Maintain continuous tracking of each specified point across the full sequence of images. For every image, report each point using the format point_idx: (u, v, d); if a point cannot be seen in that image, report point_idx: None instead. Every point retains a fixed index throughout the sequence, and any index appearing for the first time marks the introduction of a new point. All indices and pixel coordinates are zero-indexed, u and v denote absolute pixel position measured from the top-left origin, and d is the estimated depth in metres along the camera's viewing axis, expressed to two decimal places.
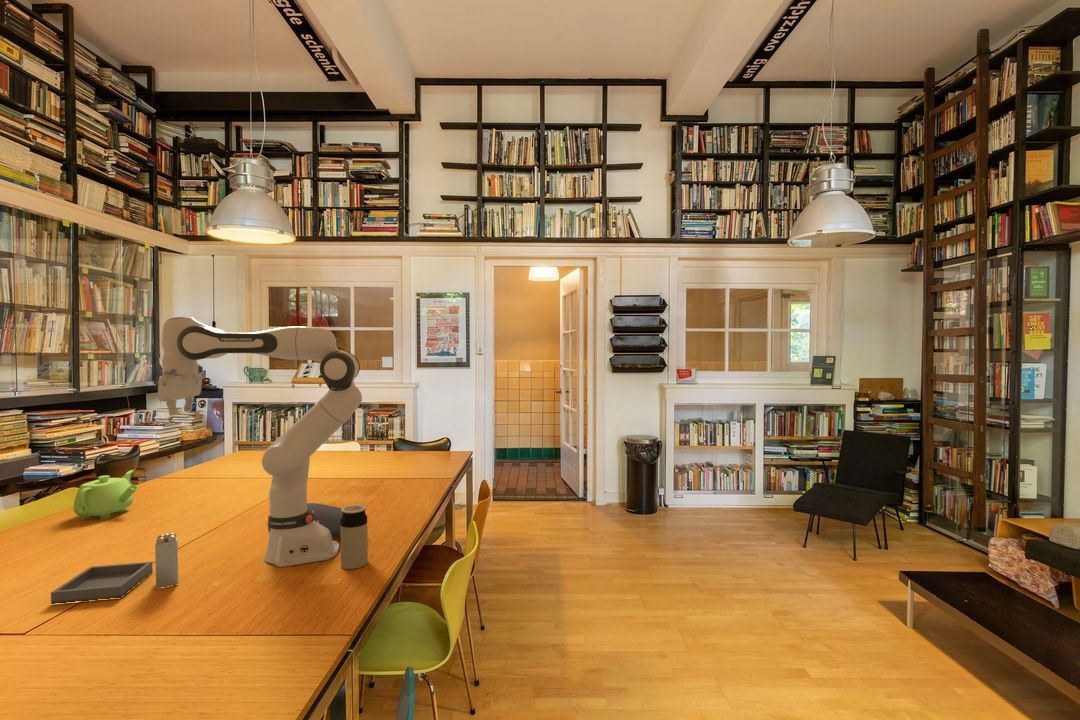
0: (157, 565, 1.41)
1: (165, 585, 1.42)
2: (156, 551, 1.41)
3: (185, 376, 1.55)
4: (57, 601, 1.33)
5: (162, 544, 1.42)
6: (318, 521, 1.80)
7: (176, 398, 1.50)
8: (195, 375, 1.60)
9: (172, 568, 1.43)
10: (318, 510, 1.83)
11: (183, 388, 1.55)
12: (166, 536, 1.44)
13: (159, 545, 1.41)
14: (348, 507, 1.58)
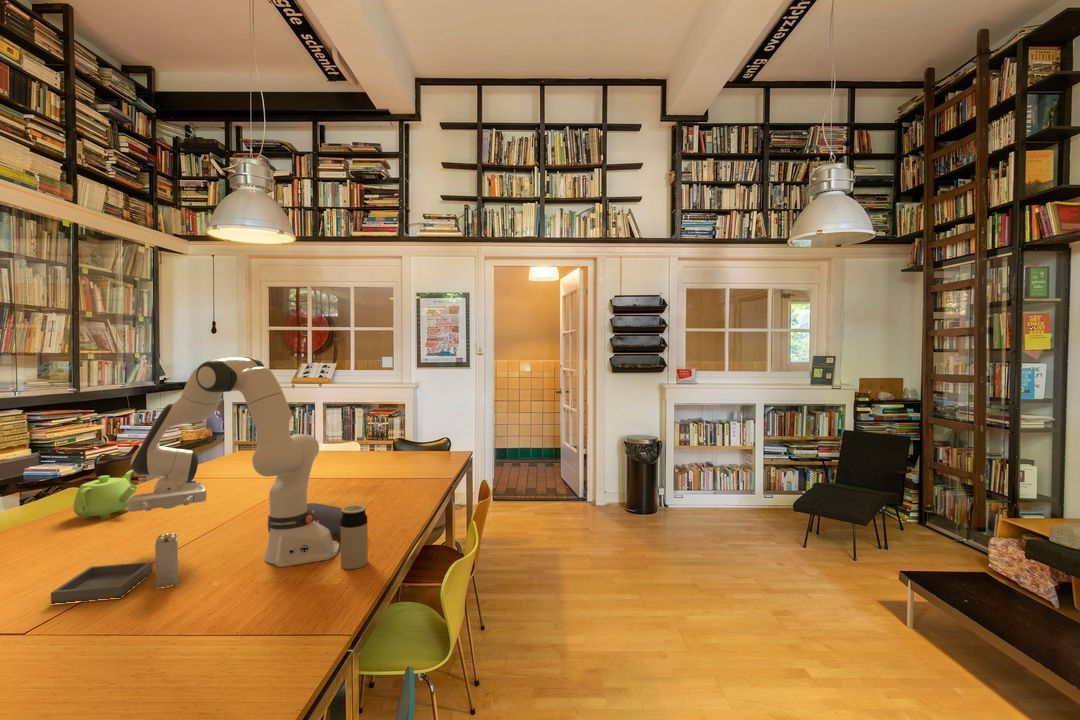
0: (157, 565, 1.41)
1: (165, 585, 1.42)
2: (156, 551, 1.41)
3: (161, 489, 1.62)
4: (57, 601, 1.33)
5: (162, 544, 1.42)
6: (318, 521, 1.80)
7: (141, 499, 1.54)
8: (182, 485, 1.65)
9: (173, 568, 1.43)
10: (318, 510, 1.83)
11: (160, 494, 1.59)
12: (166, 536, 1.44)
13: (159, 545, 1.41)
14: (348, 507, 1.58)
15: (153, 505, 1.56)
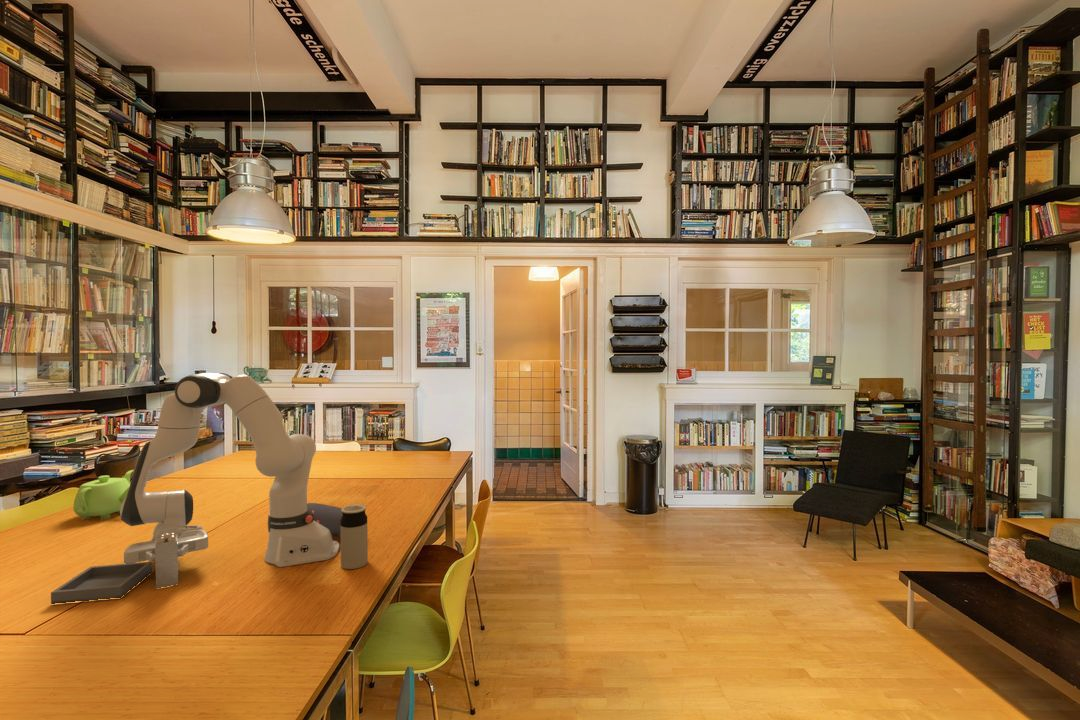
0: (157, 565, 1.41)
1: (165, 585, 1.42)
2: (156, 551, 1.41)
3: None
4: (57, 601, 1.33)
5: (162, 544, 1.42)
6: (318, 521, 1.80)
7: (139, 549, 1.44)
8: (183, 531, 1.55)
9: (172, 568, 1.43)
10: (318, 509, 1.83)
11: None
12: (166, 536, 1.44)
13: (159, 545, 1.41)
14: (348, 507, 1.58)
15: None
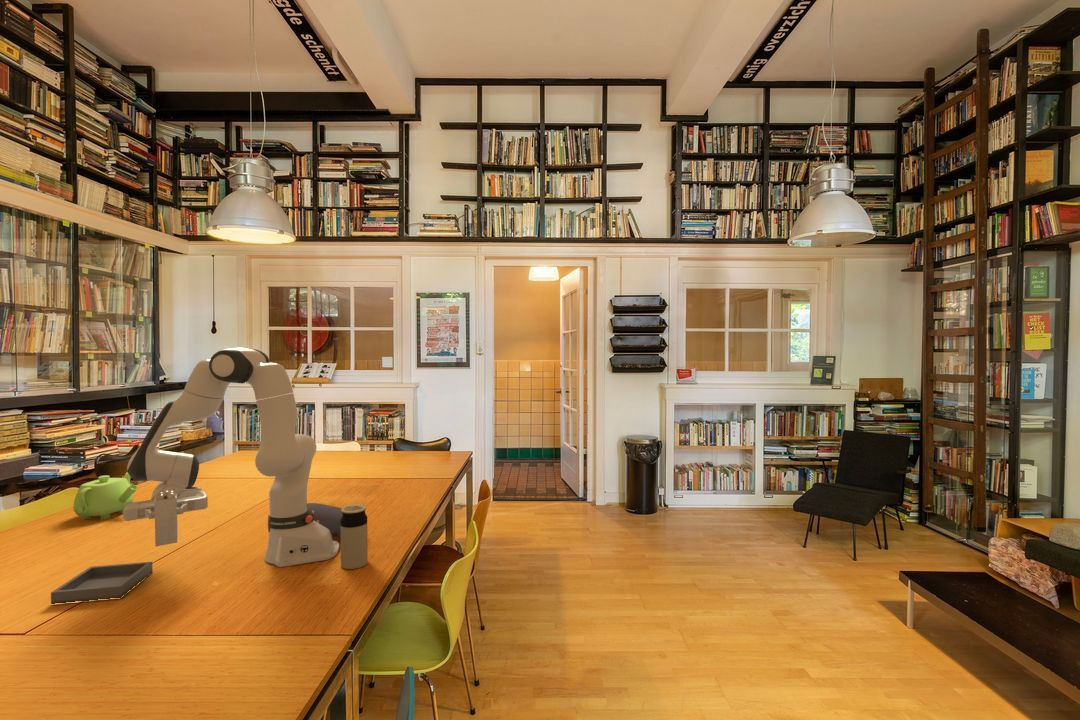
0: (156, 522, 1.41)
1: (164, 542, 1.42)
2: (155, 508, 1.41)
3: None
4: (57, 601, 1.33)
5: (161, 501, 1.41)
6: (318, 521, 1.80)
7: (138, 507, 1.44)
8: (182, 492, 1.55)
9: (172, 525, 1.43)
10: (318, 509, 1.83)
11: None
12: (165, 493, 1.43)
13: (158, 502, 1.41)
14: (348, 507, 1.58)
15: None
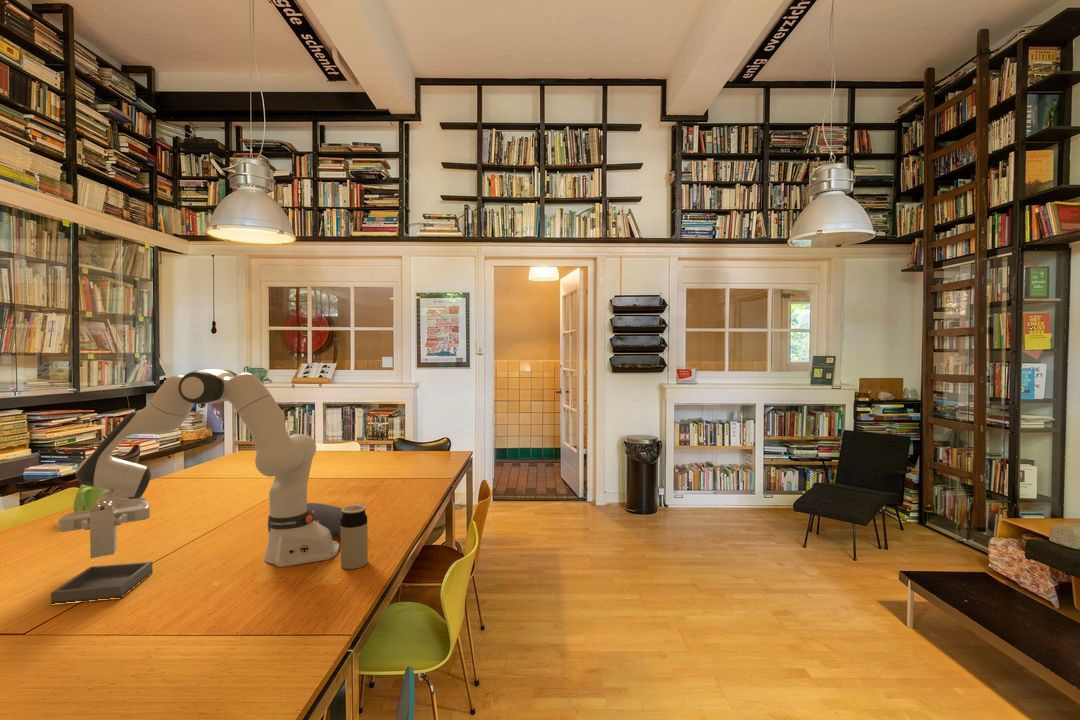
0: (92, 533, 1.38)
1: (100, 554, 1.39)
2: (91, 519, 1.38)
3: None
4: (57, 601, 1.33)
5: (97, 512, 1.39)
6: (318, 521, 1.80)
7: (75, 517, 1.41)
8: (124, 502, 1.52)
9: (108, 536, 1.40)
10: (318, 509, 1.83)
11: None
12: (102, 504, 1.41)
13: (94, 513, 1.38)
14: (348, 507, 1.58)
15: None
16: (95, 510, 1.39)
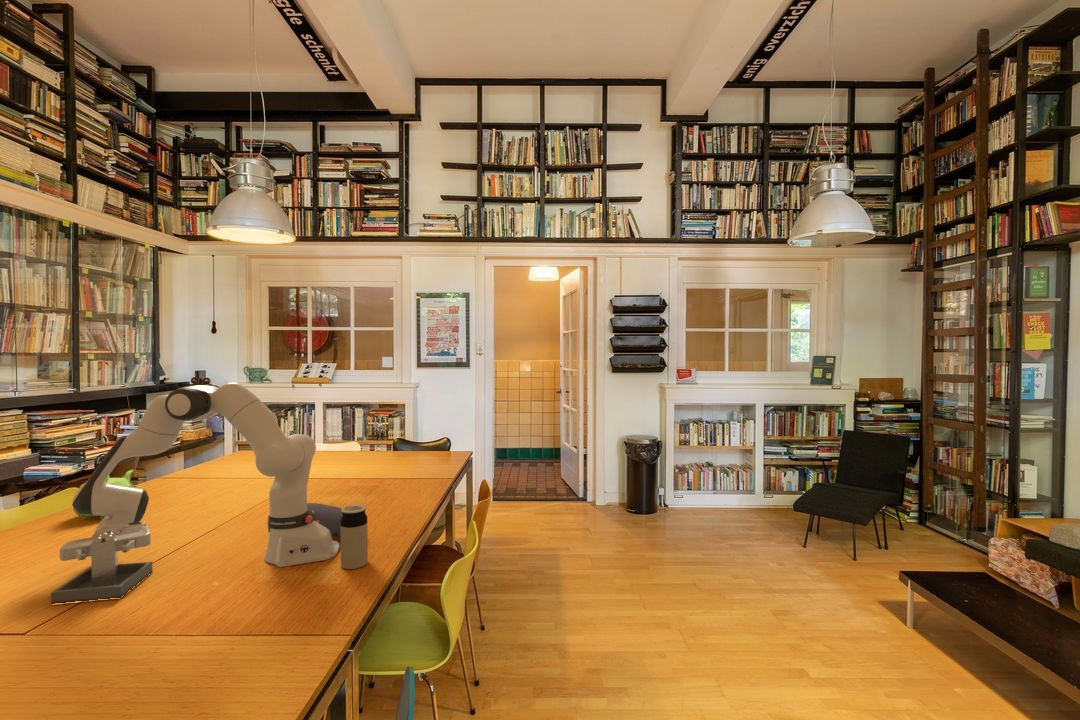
0: (93, 565, 1.39)
1: None
2: (92, 551, 1.38)
3: None
4: (57, 601, 1.33)
5: (98, 544, 1.39)
6: (318, 521, 1.80)
7: (76, 546, 1.41)
8: (125, 528, 1.53)
9: (110, 568, 1.41)
10: (318, 509, 1.83)
11: None
12: (103, 536, 1.41)
13: (95, 545, 1.39)
14: (348, 507, 1.58)
15: (89, 552, 1.43)
16: (96, 542, 1.39)
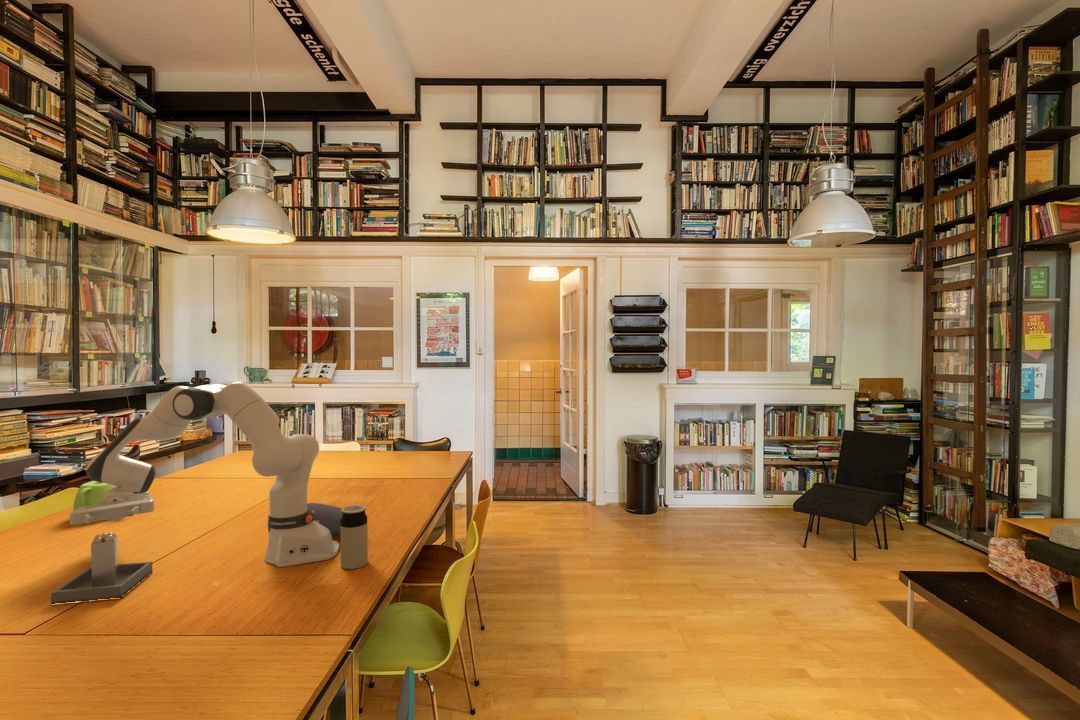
0: (93, 565, 1.39)
1: None
2: (92, 551, 1.38)
3: (107, 501, 1.60)
4: (57, 601, 1.33)
5: (98, 544, 1.39)
6: (318, 521, 1.80)
7: (84, 511, 1.52)
8: (130, 496, 1.63)
9: (110, 568, 1.41)
10: (318, 509, 1.83)
11: (105, 506, 1.57)
12: (103, 536, 1.41)
13: (95, 545, 1.39)
14: (348, 507, 1.58)
15: (97, 517, 1.54)
16: (96, 542, 1.39)
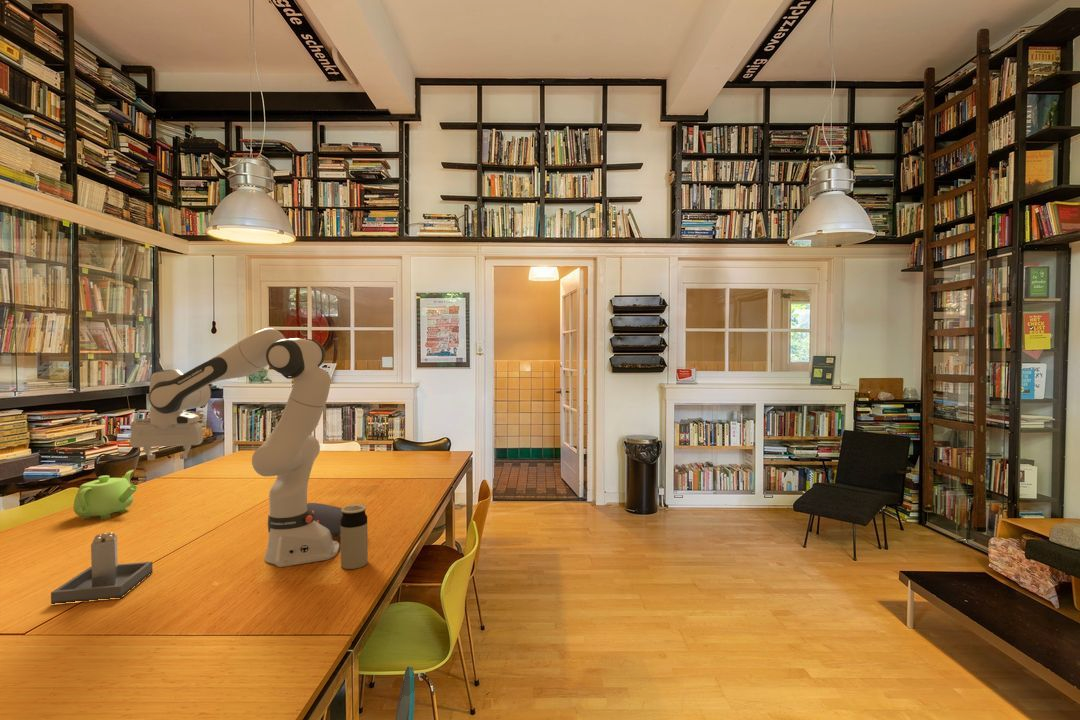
0: (93, 565, 1.39)
1: None
2: (92, 551, 1.38)
3: (156, 426, 1.64)
4: (57, 601, 1.33)
5: (98, 544, 1.39)
6: (318, 521, 1.80)
7: (142, 446, 1.63)
8: (175, 425, 1.64)
9: (110, 568, 1.41)
10: (318, 509, 1.83)
11: (157, 437, 1.64)
12: (103, 536, 1.41)
13: (95, 545, 1.39)
14: (348, 507, 1.58)
15: None
16: (96, 542, 1.39)
